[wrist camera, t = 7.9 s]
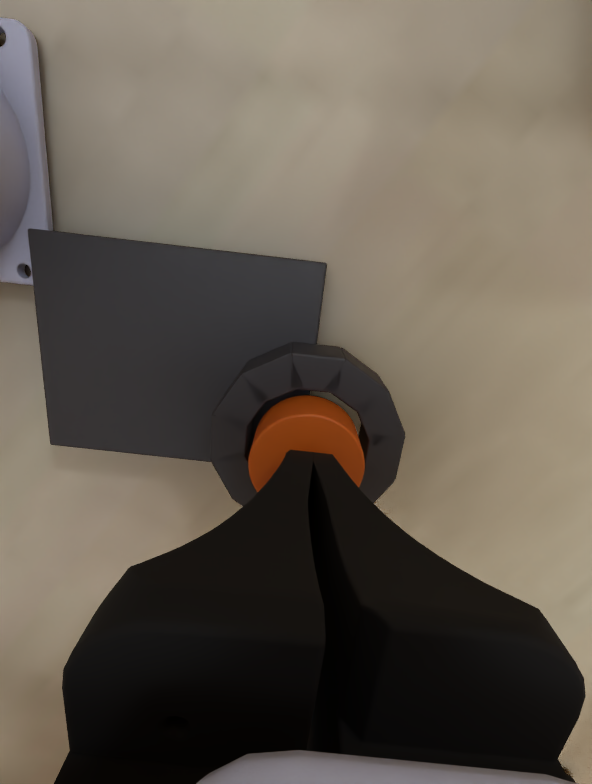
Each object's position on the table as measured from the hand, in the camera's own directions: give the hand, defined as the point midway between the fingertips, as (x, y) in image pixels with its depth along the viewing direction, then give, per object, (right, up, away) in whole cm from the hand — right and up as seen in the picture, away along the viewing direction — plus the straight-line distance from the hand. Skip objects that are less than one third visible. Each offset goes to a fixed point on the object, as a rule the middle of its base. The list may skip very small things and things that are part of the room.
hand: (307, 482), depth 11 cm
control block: (-3, +4, +5) cm, 7 cm away
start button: (0, +1, +2) cm, 3 cm away
